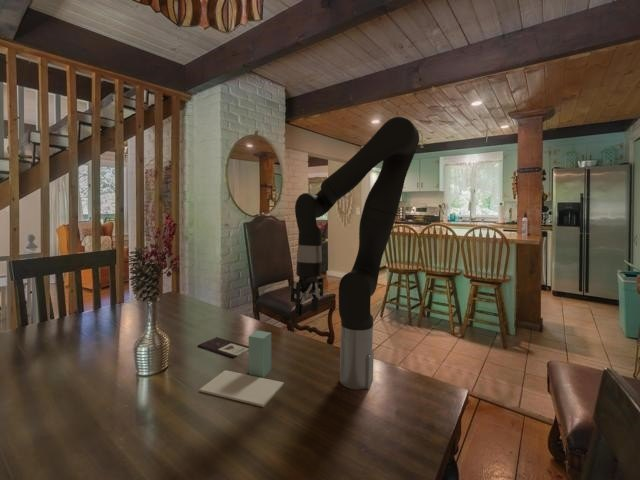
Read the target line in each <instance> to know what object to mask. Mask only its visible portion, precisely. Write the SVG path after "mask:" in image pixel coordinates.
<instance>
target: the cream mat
mask: <svg viewBox="0 0 640 480" xmlns="http://www.w3.org/2000/svg"><path fill="white" fill-rule="evenodd" d="M284 384H285V383H284V382H283V381H280V380H274V379H268V378H264V377H259V376H255V375H250V374H245V373H239V372H235V371H231V370H227V369H226V370H225V369H224V370H223V371H222V372H220V374H218V375H217V376H216V377H214V378H212V379H211V380H210V381H208V382H207V383H206V384H205V385H203V386H202V387H200V388H199V390H198V391H199V392H201V393H204V394H208V395H213V396H217V397H222V398H225V399H229V400H233V401H238V402H242V403H246V404H249V405H253V406H258V407H262V408H264V407H265V406H266V405H268V403H269V402H270V401H271V400H272V398H273V397H274V396H276V394H277V393H278V392H279V390H281V388H282V387H283V386H284Z"/></svg>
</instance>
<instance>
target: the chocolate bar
mask: <svg viewBox="0 0 640 480" xmlns="http://www.w3.org/2000/svg"><path fill="white" fill-rule="evenodd" d="M197 347H198V348H201V349H203V350H207V351H210V352H214V353H215V354H219V355H222V356H225V357H228V358H232V359H235V358H238V357H239V356H241V355H243V354H245V353H247V352H249V345H244V344H243V343H242V344H241V343H238V342H235V341H231V340H228V339H224V338H221V337H217V336H216V337H214V338H211V339H209V340H206V341H204V342H201V343H199V344H197Z"/></svg>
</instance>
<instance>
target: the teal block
mask: <svg viewBox="0 0 640 480" xmlns="http://www.w3.org/2000/svg"><path fill="white" fill-rule="evenodd" d="M248 346H249V351H248V375H250V376H255V377H260V378H264V377H265V376H266V375H267V374H268V373H269V372H271V370H272V332H269V331H262V330H255V331H254V332H253V333H251V334H249V335H248Z"/></svg>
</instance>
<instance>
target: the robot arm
mask: <svg viewBox="0 0 640 480" xmlns="http://www.w3.org/2000/svg"><path fill="white" fill-rule="evenodd" d="M419 144H420V133H419V130H418V128H417V127H416V126H415V124H414V123H413V122H412V121H411V119H409V118H407V117H405V116H399V115H398V116H394V117H391V118H390V119H388V120H387V121H385V122H384V124H383V125H382V126H380V128H379V129H378V130H377V132H375V134H373V135H372V137H371V138H370V139H369V140H368V141H367V142H366V143H365V144H364V145H363V146H362V147H361V148H360V149H359V150H358V151H357V152H356V153H355V154H354V155H353V156H352V157H351V158H350V159H349V160H348V161H346V162H345V163H344V164H342V165H341V166H339V168H337V170H335V171H334V172H333V173H332V174H330V175H329V176H328V177H326V179H325V180H324V181H322V182H321V183H320V190H319V191H318V192H316V193H315V194H312V193H309V192H303V193H301V194H300V195H299V196H298V197H297V198H296V201H295V205H294V211H295V212H294V213H295V214H294V215H295V218H296V224H297V229H298V240H297V241H298V242H297V243H298V244H297V250H296V270H295V271H296V272H295V273H296V276H298V281H294V280H293V281H292V282H291V289H290V302H291V303H294V305H295V306H294V308H295V310H294V313H295V314H294V315H295V317H298V318H301V317H302V318H303V315H304V302H305V299H307V298H308V296H309V295H310V296H311V307H310V310H311V311H312V312H315V313H317V312H319V303H320V299H321V297H324V278H323V277H321V276H322V262H323V261H322V260H323V259H322V258H323V252H322V240H323V239H322V236H323V233H322V228H321V227H319V226H318V225H317V218H321V217H323V216H325V215H326V214H327V213H328V212H329V211H330V210H331V209H332V208H333V207H334V206H335V204H336V203H337V202H338V201H339V200H340V199H342V198H343V197H345V196H346V195H347V194H348V193H350V192H351V191H352V190H353V189H355V187H357V186H358V185H359V184H360V183H361V182H362V181H363V179H364V178H365V177H366V176H367V175H368V174H369V173H370V172H371V171H372V170H373V169H374V168H375V167H376V166H377V165H378V164H380V163H381V162H382V164H381V168H380V171H379V173H378V176H377V178H376V180H375V182H374V183H373V185H372V187H371V189H370V191H369V192H368V194H367V197H366V199H365V202H364V205H363V208H362V211H361V215H360V219H359V227H358V228H359V230H358V251H357V254H356V257H355V261H354V264H353V266H352V269H351V271H349V272H347V273H346V274H344V275H343V276H342V277H341V279H340V281H339V284H338V285H339V286H338V314H339V317H340V350H339V351H340V352H339V353H340V357H339V358H340V359H339V361H340V362H339V364H340V365H339V382H340V384H341V385H342V386H343V387H345V388H348V389H351V390H357V391H358V390H370V387H371V385H372V382H373V380H374V354H375V353H374V352H375V351H374V348H373V340H374V339H373V338H374V337H373V336H374V334H373V333H374V316H373V314H371V297H372V296H373V295H374V293H375V292H376V289H377V287H378V282H379V274H380V269H381V264H382V260H383V255H384V253H385V250H386V248H387V245H388V243H389V239H390V237H391V234H392V230H393V228H394V225H395V221H396V218H397V214H398V211H399V206H400V202H401V198H402V195H403V190H404V185H405V180H406V177H407V175H408V171H409V168H410V167H411V164H412V162H413V161H412V160H413V159H414V156H415V155H416V152H417V149H418V146H419Z"/></svg>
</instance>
